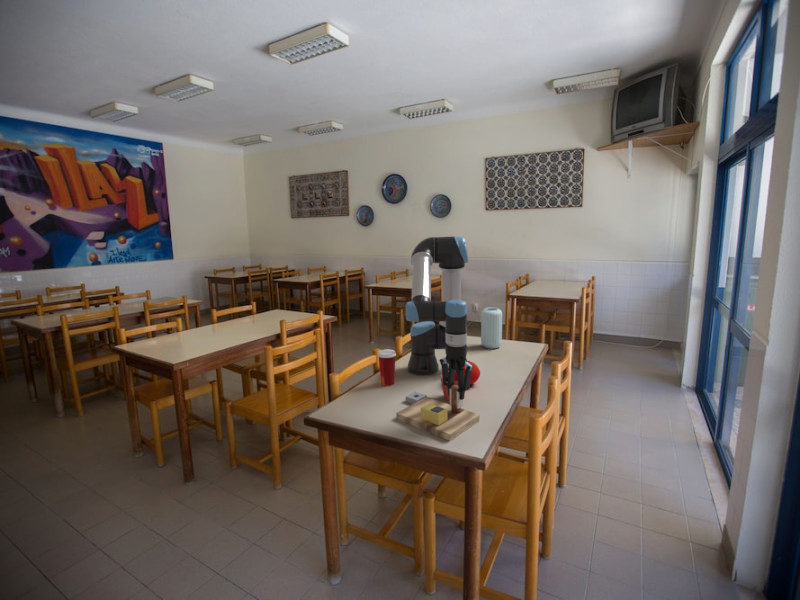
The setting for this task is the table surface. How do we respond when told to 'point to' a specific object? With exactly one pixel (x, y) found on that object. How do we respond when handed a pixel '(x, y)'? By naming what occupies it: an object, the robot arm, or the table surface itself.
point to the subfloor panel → (445, 430)
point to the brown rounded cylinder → (454, 399)
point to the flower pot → (445, 388)
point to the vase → (491, 327)
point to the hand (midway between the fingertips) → (456, 405)
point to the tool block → (415, 397)
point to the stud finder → (434, 414)
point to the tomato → (473, 372)
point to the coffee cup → (387, 366)
